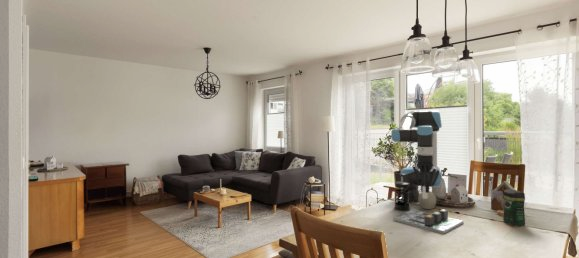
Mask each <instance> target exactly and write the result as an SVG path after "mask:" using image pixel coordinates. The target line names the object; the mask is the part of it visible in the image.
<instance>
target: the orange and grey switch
mask: <svg viewBox="0 0 579 258" xmlns="http://www.w3.org/2000/svg"><path fill="white" fill-rule="evenodd" d="M424 224H426V225H432V224H434V216H432V215H427V216H425V217H424Z"/></svg>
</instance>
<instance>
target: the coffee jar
mask: <svg viewBox="0 0 579 258" xmlns="http://www.w3.org/2000/svg"><path fill="white" fill-rule="evenodd" d="M525 195H526V193H525V192H523V191H520V190H516V189H513V188H512V189H511V188H509V189H508V188H506V189H505V190H503V201H504V202H503V218H502V220H503V222H504V223H505V224H508V225H511V226H515V227H523V226H525V225H526V217H525V201H526V196H525Z"/></svg>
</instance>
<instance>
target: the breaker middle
mask: <svg viewBox="0 0 579 258" xmlns="http://www.w3.org/2000/svg"><path fill="white" fill-rule="evenodd" d="M431 214H432V216H434V222H440V221H441V213H439V211H435V212H432V213H431Z"/></svg>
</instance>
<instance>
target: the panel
mask: <svg viewBox="0 0 579 258" xmlns="http://www.w3.org/2000/svg"><path fill="white" fill-rule="evenodd" d="M432 214H433V213H429V212H428V211H427V212H426V211H422V210H417V209H413V210H409V212H408V211H407V212H405V213H402V214H400V215H398V216H394V217H393V221H394V220H395V222H397V221H399V222H398V223H401V222H403V223H402V224H405V223H407V224H406V225H409V224H410V225H409V226H412V225H414V226H413V227H416V226H417V227H416V228H420V227H421V228H420V229H423V228H424V230H427V229H428V231H430V232H431V231H432V232H435V233H438V234H441V235H445V234H446V233H449V232H450V231H452V230H454V229H456V228H458V227H460V226H462V225H464V220H461V219H458V218H452V217H449V216H448V218H446V219H441V221H440V222H434V224H432V225H426V224H424V217H425V216H427V215H432Z"/></svg>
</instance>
